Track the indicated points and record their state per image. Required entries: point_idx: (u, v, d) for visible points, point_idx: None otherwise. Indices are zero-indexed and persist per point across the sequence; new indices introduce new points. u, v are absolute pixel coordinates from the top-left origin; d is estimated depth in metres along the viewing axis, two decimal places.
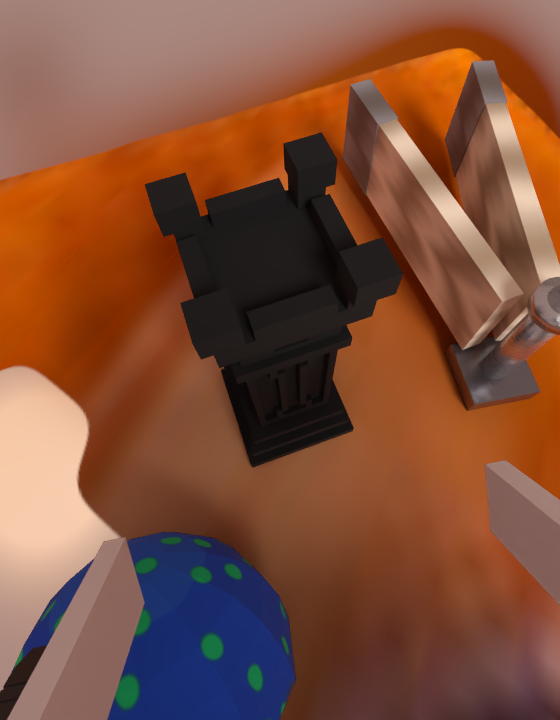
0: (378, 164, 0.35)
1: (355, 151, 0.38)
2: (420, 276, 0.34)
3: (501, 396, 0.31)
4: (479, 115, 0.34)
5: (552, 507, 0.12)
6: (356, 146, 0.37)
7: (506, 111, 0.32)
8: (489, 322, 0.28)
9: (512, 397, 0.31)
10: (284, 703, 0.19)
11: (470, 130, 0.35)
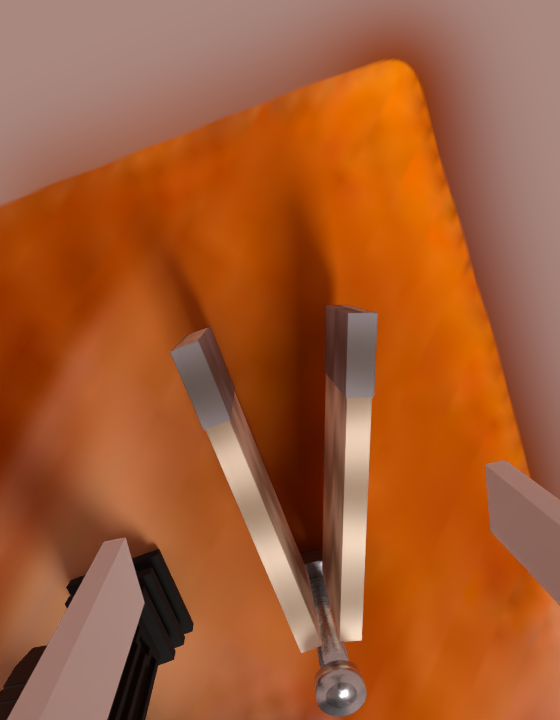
0: None
1: None
2: None
3: None
4: (342, 391, 0.26)
5: (552, 507, 0.12)
6: None
7: (368, 412, 0.25)
8: None
9: None
10: None
11: (336, 379, 0.28)
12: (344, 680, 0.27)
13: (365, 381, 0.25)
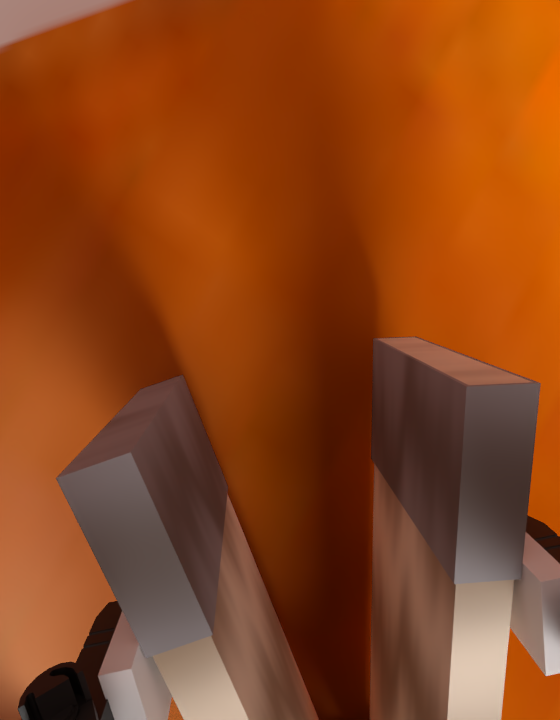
0: None
1: None
2: None
3: None
4: (435, 552, 0.11)
5: None
6: None
7: (506, 609, 0.11)
8: None
9: None
10: None
11: (411, 504, 0.13)
12: None
13: (502, 545, 0.10)
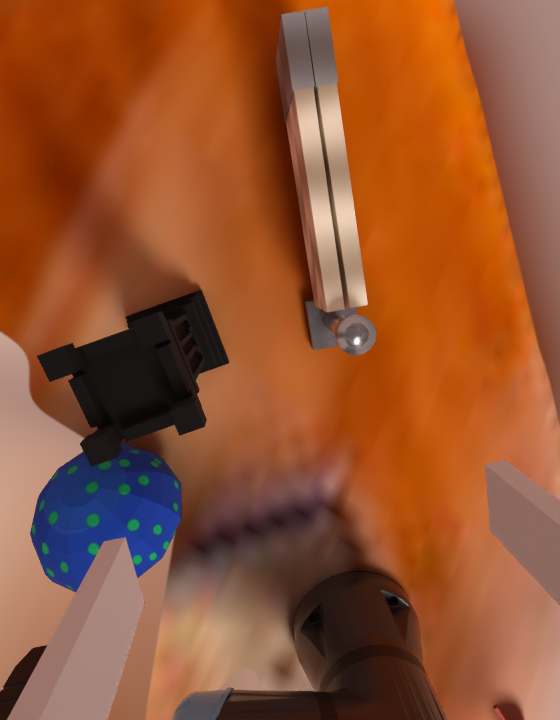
0: (292, 118, 0.35)
1: (281, 76, 0.36)
2: (304, 235, 0.40)
3: (333, 344, 0.44)
4: (314, 91, 0.33)
5: (552, 507, 0.12)
6: (282, 75, 0.35)
7: (336, 96, 0.32)
8: None
9: None
10: (175, 531, 0.39)
11: None
12: (359, 321, 0.34)
13: (329, 68, 0.32)
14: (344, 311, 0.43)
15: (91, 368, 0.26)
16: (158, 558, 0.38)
